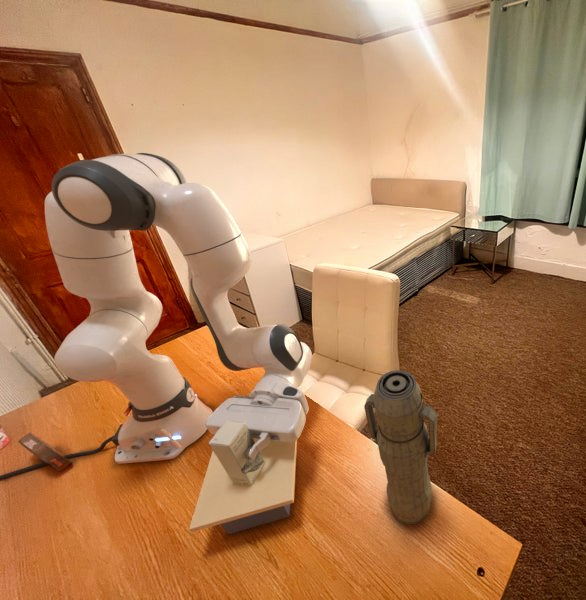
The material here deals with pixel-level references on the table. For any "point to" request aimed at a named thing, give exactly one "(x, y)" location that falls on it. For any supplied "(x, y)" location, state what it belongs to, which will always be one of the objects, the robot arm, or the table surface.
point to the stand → (248, 492)
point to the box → (236, 452)
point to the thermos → (403, 443)
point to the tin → (44, 451)
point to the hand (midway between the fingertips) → (234, 455)
